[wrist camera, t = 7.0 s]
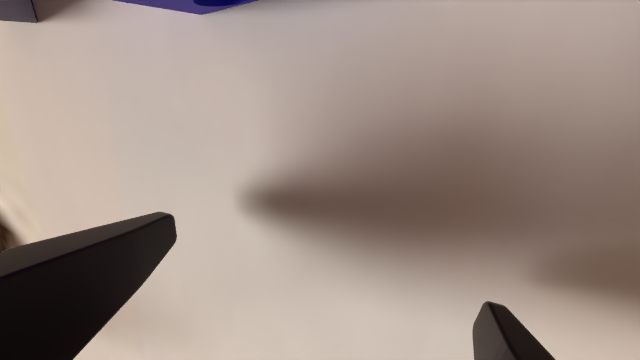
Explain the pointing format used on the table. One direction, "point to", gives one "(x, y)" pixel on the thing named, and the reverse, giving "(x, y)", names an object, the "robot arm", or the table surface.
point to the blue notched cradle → (190, 4)
